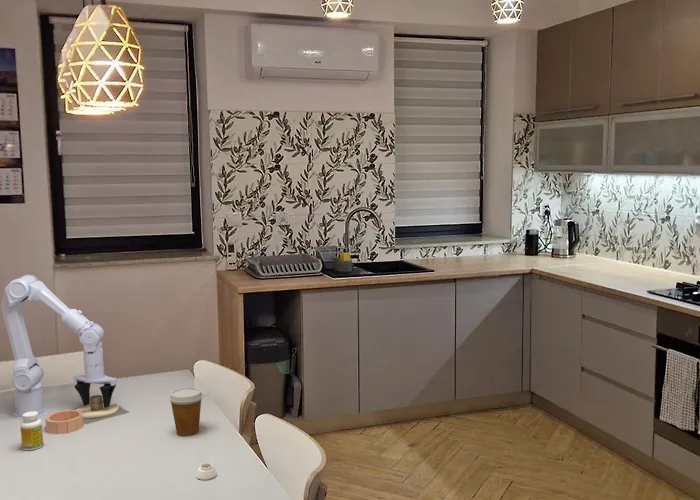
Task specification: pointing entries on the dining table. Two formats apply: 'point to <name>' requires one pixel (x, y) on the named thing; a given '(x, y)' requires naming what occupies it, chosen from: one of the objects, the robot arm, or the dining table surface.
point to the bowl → (64, 421)
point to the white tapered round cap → (206, 471)
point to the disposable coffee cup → (186, 410)
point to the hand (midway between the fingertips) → (96, 405)
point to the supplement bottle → (31, 431)
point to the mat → (119, 412)
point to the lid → (97, 408)
